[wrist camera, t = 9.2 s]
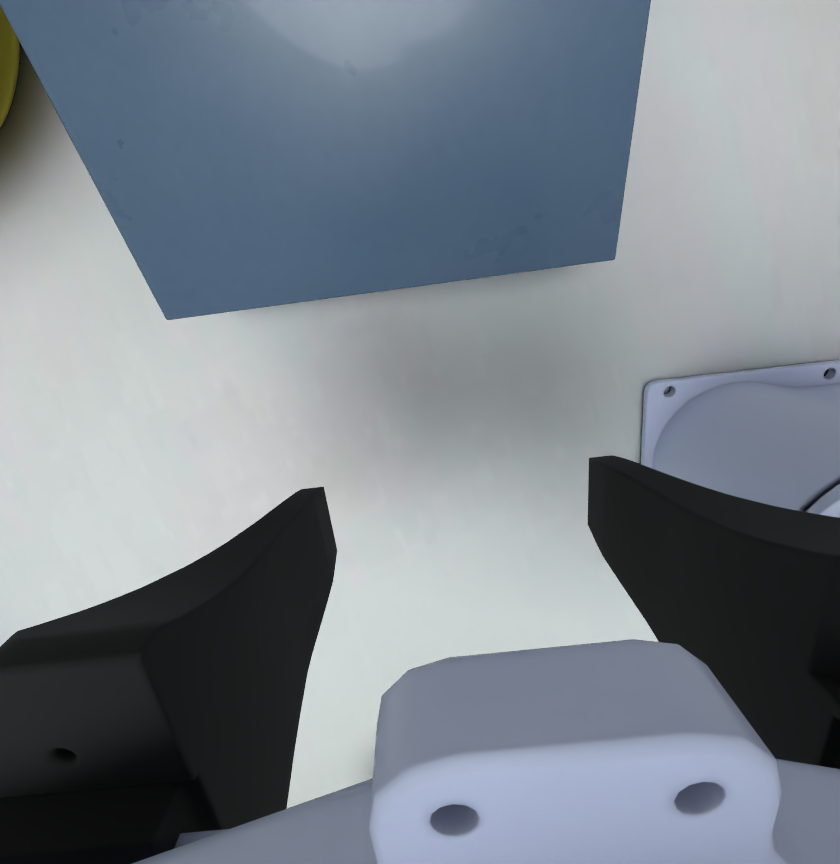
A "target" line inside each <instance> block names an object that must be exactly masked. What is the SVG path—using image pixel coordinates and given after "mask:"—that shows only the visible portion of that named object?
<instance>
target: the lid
mask: <svg viewBox="0 0 840 864" xmlns="http://www.w3.org/2000/svg"><path fill="white" fill-rule="evenodd" d="M650 2H651V0H0V6H1V8H2V10H3V11H4V13H5V15H6V17H7V19H8V21H9V23H10V25H11V27H12V28H13V30H14V32H15V34H16V36H17V38H18V40H19V42H20V44H21V45H22V47H23V49H24V51H25V53H26V55H27V57H28V59H29V61H30V62H31V64H32V66H33V68H34V70H35V72H36V74H37V76H38V78H39V80H40V81H41V83H42V85H43V87H44V89H45V91H46V93H47V95H48V97H49V98H50V100H51V102H52V104H53V106H54V108H55V110H56V112H57V114H58V115H59V117H60V119H61V121H62V123H63V125H64V127H65V129H66V131H67V132H68V134H69V136H70V138H71V140H72V142H73V144H74V146H75V148H76V149H77V151H78V153H79V155H80V157H81V159H82V161H83V163H84V165H85V167H86V168H87V170H88V172H89V174H90V176H91V178H92V180H93V182H94V184H95V185H96V187H97V189H98V191H99V193H100V195H101V197H102V199H103V201H104V202H105V204H106V206H107V208H108V210H109V212H110V214H111V216H112V218H113V219H114V221H115V223H116V225H117V227H118V229H119V231H120V233H121V235H122V236H123V238H124V240H125V242H126V244H127V246H128V248H129V250H130V252H131V253H132V255H133V257H134V259H135V261H136V263H137V265H138V267H139V269H140V271H141V272H142V274H143V276H144V278H145V280H146V282H147V284H148V286H149V288H150V289H151V291H152V293H153V295H154V297H155V299H156V301H157V303H158V305H159V306H160V308H161V310H162V312H163V314H164V316H165V318H166V319H167V320H172V319H180V318H187V317H194V316H202V315H209V314H217V313H224V312H231V311H239V310H246V309H254V308H261V307H268V306H276V305H283V304H291V303H298V302H305V301H313V300H320V299H328V298H335V297H343V296H350V295H357V294H365V293H372V292H380V291H387V290H394V289H402V288H409V287H417V286H424V285H431V284H439V283H446V282H454V281H461V280H469V279H476V278H483V277H491V276H498V275H506V274H513V273H520V272H528V271H535V270H543V269H550V268H557V267H565V266H572V265H580V264H587V263H594V262H602V261H609V260H614V259H615V255H616V247H617V240H618V233H619V226H620V219H621V211H622V204H623V197H624V190H625V182H626V175H627V168H628V161H629V154H630V146H631V139H632V132H633V125H634V117H635V110H636V103H637V96H638V89H639V81H640V74H641V67H642V60H643V52H644V45H645V38H646V31H647V24H648V16H649V9H650Z"/></svg>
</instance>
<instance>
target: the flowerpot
mask: <svg viewBox="0 0 840 864" xmlns="http://www.w3.org/2000/svg"><path fill="white" fill-rule="evenodd" d="M19 55H20V42H19V40H18V38H17V36H16V34H15V32H14V30H13V28H12V27H11V25H10V23H9V21H8V19H7V17H6V15H5V13H4V11H3V10H2V8H1V6H0V128H1V126H2V124H3V122H4V120H5V118H6V116H7V114H8V112H9V109H10V106H11V103H12V100H13V96H14V93H15V89H16V83H17V78H18V70H19Z"/></svg>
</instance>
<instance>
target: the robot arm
mask: <svg viewBox="0 0 840 864" xmlns="http://www.w3.org/2000/svg"><path fill="white" fill-rule="evenodd" d="M827 369H829V372H828V374H827V375H826V376H825V377H824V375H823V374H824V372H825V371H826V370H827ZM668 386H671V391H670V392H669V393H668V394H666V395H664V393H663V392H664V389H665V388H666V387H668ZM588 526H589V528H590V530H591V532H592V534H593V537H594V539H595V541H596V543H597V545H598V547H599V549H600V551H601V553H602V555H603V557H604V558H605V560H606V561H607V563H608V564H609V566H610V568H611V569H612V571H613V572H614V574H615V575H616V577H617V578H618V580H619V581H620V583H621V584H622V586H623V587H624V589H625V590H626V592H627V593H628V595H629V596H630V597H631V599H632V600H633V602H634V603H635V605H636V606H637V608H638V609H639V611H640V612H641V614H642V615H643V617H644V618H645V620H646V621H647V623H648V625H649V626H650V628H651V629H652V631H653V633H654V634H655V636H656V638H657V639H658V641H659V642H653V641H643V640H622V641H612V642H601V643H591V644H581V645H571V646H560V647H550V648H540V649H530V650H520V651H509V652H499V653H489V654H479V655H469V656H458V657H449V658H445V659H442V660H439V661H436V662H433V663H429V664H426V665H423V666H420V667H416V668H413V669H411V670H408V671H407V672H406V673H405V674H404V675H403V676H402V677H401V678H400V679H399V680H398V681H397V682H396V683H395V684H394V685H393V686H392V687H391V688H389V689H388V690H387V691H386V692H385V693H384V694H383V695H382V698H381V704H380V711H379V717H378V723H377V732H376V745H375V758H374V771H373V779H370V780H367V781H364V782H361V783H359V784H356V785H353V786H350V787H347V788H344V789H342V790H339V791H336V792H333V793H330V794H327V795H325V796H322V797H319V798H316V799H313V800H310V801H308V802H305V803H302V804H299V805H296V806H293V807H291V808H288V809H286V808H287V800H288V793H289V786H290V778H291V771H292V763H293V756H294V750H295V743H296V737H297V731H298V724H299V718H300V712H301V706H302V700H303V695H304V689H305V683H306V678H307V672H308V668H309V664H310V660H311V656H312V652H313V649H314V646H315V642H316V639H317V635H318V632H319V628H320V625H321V622H322V618H323V615H324V611H325V608H326V604H327V601H328V597H329V594H330V590H331V586H332V583H333V577H334V570H335V563H336V554H337V548H336V543H335V538H334V534H333V529H332V524H331V520H330V515H329V510H328V505H327V501H326V496H325V491H324V487H318V488H309V489H301V490H299V491H298V492H296V493H295V494H293V495H292V496H290V497H289V498H287V499H286V500H285V501H283V502H282V503H281V504H279V505H278V506H277V507H276V508H274V509H273V510H272V511H270V512H269V513H268V514H266V515H265V516H264V517H262V518H261V519H260V520H258V521H257V522H256V523H254V524H253V525H251V526H250V527H248V528H247V529H246V530H244V531H243V532H241V533H240V534H238V535H237V536H235V537H234V538H233V539H231V540H230V541H228V542H227V543H225V544H224V545H222V546H220V547H219V548H217V549H216V550H214V551H212V552H211V553H209V554H207V555H205V556H204V557H202V558H200V559H198V560H197V561H195V562H193V563H191V564H189V565H188V566H186V567H184V568H182V569H180V570H178V571H175V572H173V573H171V574H169V575H167V576H165V577H163V578H161V579H159V580H157V581H155V582H153V583H151V584H148V585H146V586H144V587H142V588H139V589H137V590H135V591H132V592H130V593H127V594H125V595H123V596H120V597H118V598H115V599H112V600H110V601H107V602H105V603H102V604H99V605H97V606H94V607H91V608H88V609H86V610H83V611H80V612H77V613H74V614H71V615H68V616H64V617H61V618H58V619H55V620H52V621H49V622H46V623H43V624H40V625H36V626H33V627H30V628H27V629H23V630H20V631H17V632H16V633H15V634H13V635H12V636H11V637H10V638H9V639H8V640H7V641H6V642H5V643H4V644H3V645H2V646H1V647H0V864H840V360H832V361H824V362H815V363H806V364H797V365H788V366H779V367H771V368H762V369H753V370H744V371H735V372H726V373H718V374H709V375H700V376H691V377H682V378H673V379H664V380H656V381H652V382H650V383H649V384H647V386H646V387H645V390H644V402H643V427H642V452H641V464H639V463H636V462H633V461H630V460H627V459H624V458H621V457H617V456H603V457H594V458H589V492H588Z"/></svg>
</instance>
